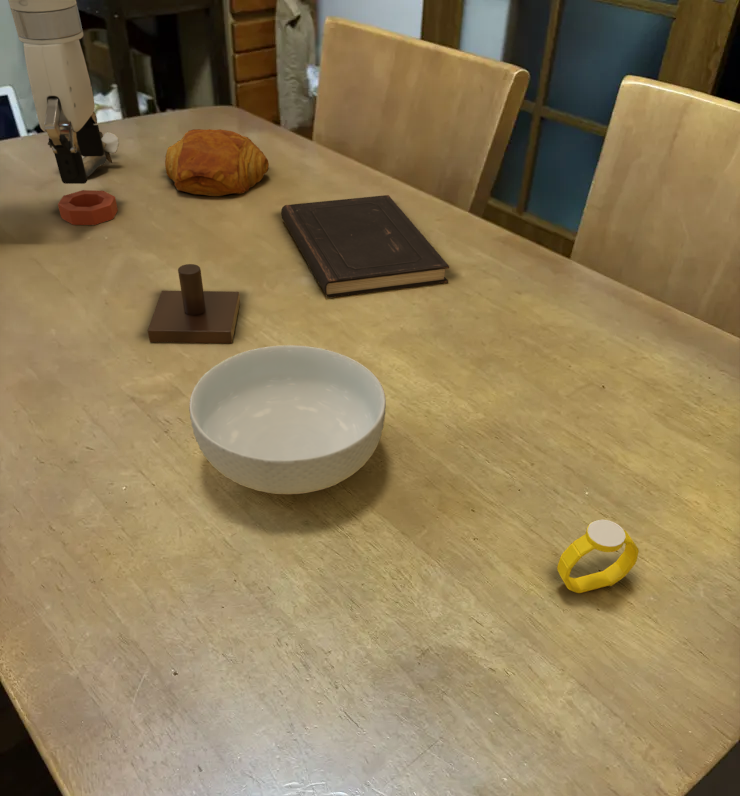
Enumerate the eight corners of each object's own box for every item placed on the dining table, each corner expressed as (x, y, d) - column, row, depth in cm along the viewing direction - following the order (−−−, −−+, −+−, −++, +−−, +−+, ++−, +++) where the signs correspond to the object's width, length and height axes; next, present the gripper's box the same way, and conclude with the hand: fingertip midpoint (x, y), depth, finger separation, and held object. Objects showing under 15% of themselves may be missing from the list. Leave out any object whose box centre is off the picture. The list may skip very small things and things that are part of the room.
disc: (57, 224, 103) (53, 210, 102) (70, 203, 109) (67, 189, 107) (109, 225, 104) (106, 211, 102) (121, 204, 109) (118, 190, 108)
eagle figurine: (84, 147, 122) (40, 153, 115) (99, 111, 117) (54, 114, 111) (116, 182, 122) (74, 190, 115) (132, 148, 118) (89, 153, 111)
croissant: (189, 174, 124) (176, 121, 119) (279, 170, 120) (269, 116, 115) (153, 205, 113) (137, 149, 108) (250, 202, 110) (238, 144, 105)
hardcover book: (387, 210, 110) (388, 194, 109) (447, 282, 95) (449, 265, 93) (281, 221, 106) (280, 205, 105) (325, 298, 91) (324, 281, 89)
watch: (615, 564, 61) (635, 512, 56) (632, 590, 59) (654, 538, 55) (547, 578, 59) (562, 525, 55) (562, 605, 57) (580, 552, 53)
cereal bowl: (319, 551, 61) (318, 487, 56) (159, 480, 66) (145, 416, 61) (414, 438, 72) (420, 376, 67) (270, 385, 77) (265, 324, 72)
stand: (149, 342, 82) (139, 288, 78) (163, 301, 89) (154, 249, 85) (232, 343, 83) (226, 289, 78) (240, 302, 89) (235, 250, 85)
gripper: (37, 7, 97) (73, 146, 108) (-8, 41, 84) (38, 194, 96) (96, 7, 97) (125, 146, 109) (60, 42, 84) (97, 194, 96)
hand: (84, 168), depth 102 cm, fingers open, 9 cm apart
